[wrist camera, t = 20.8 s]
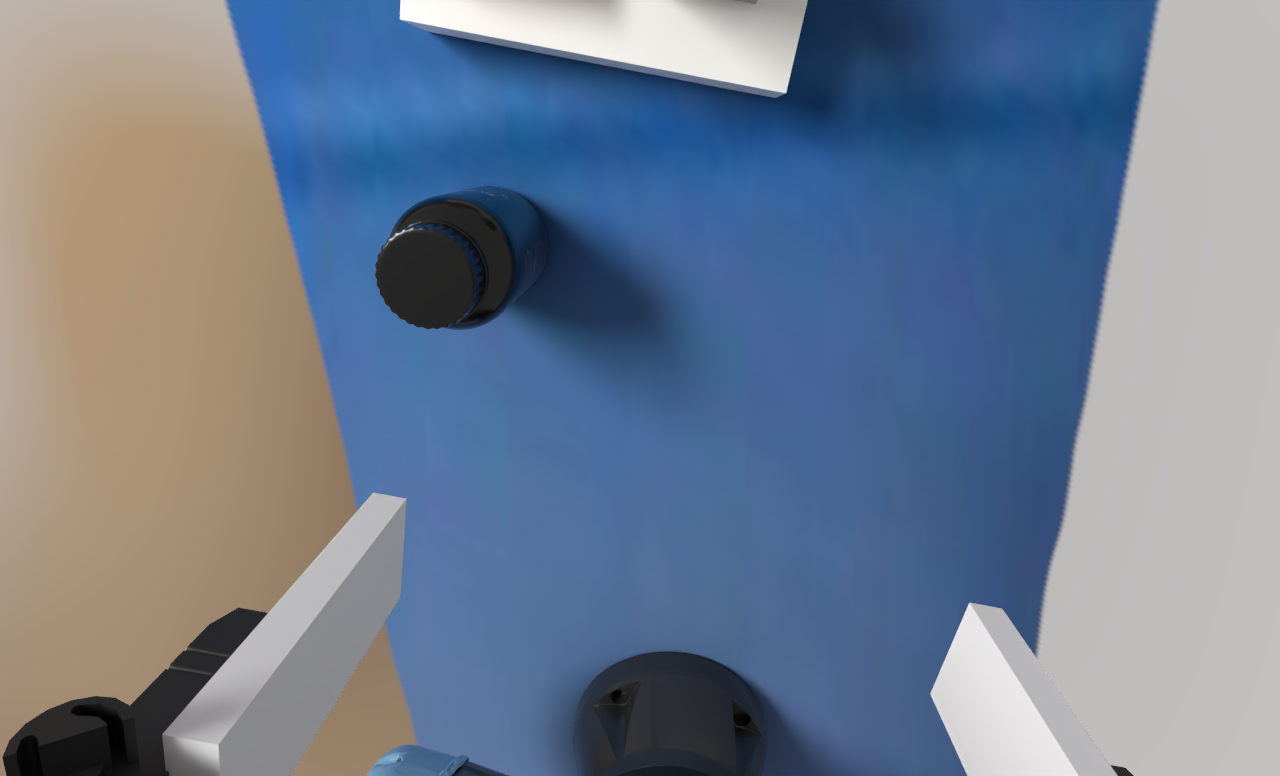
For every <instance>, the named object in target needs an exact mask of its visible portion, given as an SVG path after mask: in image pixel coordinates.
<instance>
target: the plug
mask: <svg viewBox="0 0 1280 776" xmlns="http://www.w3.org/2000/svg"><path fill="white" fill-rule="evenodd" d="M736 1H741V2H746V3H752V4H756V3H757V1H758V0H736Z"/></svg>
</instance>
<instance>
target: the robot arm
mask: <svg viewBox="0 0 1280 776" xmlns="http://www.w3.org/2000/svg"><path fill="white" fill-rule="evenodd" d="M405 515H406V499H405V498H400V497H394V496H389V495H384V494H378V493H373V494H372V495H371V496H370V497H369V498H368V499H367V500H366V502H365V503H364V504H363V505H362V506H361V507H360V508H359V510H358V511H357V512H356V513H355V514H354V515H353V517H352V518H351V519H350V520H349V521H348V522H347V523H346V525H345V526H344V527H343V528H342V529H341V530H340V531H339V533H338V534H337V535H336V536H335V537H334V538H333V539H332V541H331V542H330V543H329V544H328V545H327V546H326V548H325V549H324V550H323V551H322V552H321V553H320V554H319V555H318V557H317V558H316V559H315V560H314V561H313V562H312V563H311V565H310V566H309V567H308V568H307V569H306V570H305V572H304V573H303V574H302V575H301V576H300V577H299V578H298V579H297V581H296V582H295V583H294V584H293V585H292V586H291V588H290V589H289V590H288V591H287V592H286V593H285V594H284V596H283V597H282V598H281V599H280V600H279V601H278V602H277V604H276V605H275V606H274V607H273V608H272V609H271V610H270V612H269V613H264V612H259V611H254V610H248V609H242V608H237V609H236V610H234V611H232V612H230V613H229V614H227V615H225V616H223V617H222V618H220V619H218V620H216V621H215V622H213V623H211V624H209V626H207V627H206V628H205V629H204V630H203V632H201V633H200V635H199V636H198V637H197V638H196V639H195V640H194V641H193V642H192V643H191V644H190V645H189V646H188V648H187V650H186V651H183V652H182V653H181V654H180V655H179V656H178V657H177V658H176V659H175V660H174V661H173V662H172V663H171V665H170V668H169V669H168V670H167V669H165V670H164V672H163V673H161V675H160V676H159V677H158V678H157V679H156V680H155V681H154V682H153V683H152V684H151V685H150V686H149V687H148V688H147V689H146V690H145V691H144V692H143V693H142V694H141V695H140V696H139V697H138V698H137V699H136V700H135V701H134V702H133V703H132V704H131V705H130V706H129V705H128V704H125V703H124V702H121V701H120V700H118V699H116V698H110V697H98V696H94V697H88V698H83V699H77V700H72V701H69V702H66V703H64V704H61V705H59V706H56V707H54V708H51V709H49V710H47V711H45V712H44V713H42V714H40V715H39V716H37V717H36V718H34V719H32V720H31V721H29V722H28V723H26V724H25V725H24V726H23V727H22V728H21V729H20V730H19V731H18V733H16V734H15V735H14V736H13V738H11V740H10V741H9V743H8V746H7V748H6V750H5V753H4V755H3V761H4V766H5V771H6V775H7V776H291V774H292V773H293V771H294V769H295V768H296V766H297V765H298V763H299V761H300V760H301V758H302V756H303V755H304V753H305V752H306V750H307V748H308V747H309V745H310V743H311V742H312V740H313V739H314V737H315V735H316V733H317V732H318V730H319V729H320V727H321V725H322V724H323V722H324V721H325V719H326V717H327V716H328V714H329V712H330V711H331V709H332V707H333V706H334V704H335V703H336V701H337V699H338V698H339V696H340V694H341V693H342V691H343V690H344V688H345V686H346V685H347V683H348V681H349V680H350V678H351V677H352V675H353V673H354V671H355V670H356V668H357V667H358V665H359V664H360V662H361V660H362V659H363V657H364V655H365V654H366V652H367V650H368V649H369V647H370V646H371V644H372V642H373V641H374V639H375V637H376V636H377V634H378V633H379V631H380V629H381V628H382V626H383V624H384V623H385V621H386V620H387V618H388V616H389V615H390V613H391V611H392V610H393V608H394V606H395V605H396V603H397V602H398V600H399V598H400V595H401V579H402V563H403V547H404V531H405ZM931 696H932V699H933V701H934V703H935V705H936V707H937V710H938V712H939V714H940V716H941V718H942V721H943V723H944V725H945V727H946V729H947V732H948V734H949V736H950V738H951V740H952V743H953V745H954V747H955V749H956V751H957V754H958V756H959V758H960V760H961V762H962V765H963V767H964V769H965V771H966V773H967V776H1133V775H1132V774H1131V773H1130V772H1129V771H1128V770H1127V769H1126V768H1123V767H1117V766H1112V765H1110V764H1109V763H1108V761H1107V760H1106V758H1105V757H1104V755H1103V754H1102V752H1101V751H1100V749H1099V748H1098V747H1097V745H1096V744H1095V742H1094V741H1093V739H1092V738H1091V737H1090V735H1089V734H1088V732H1087V731H1086V729H1085V728H1084V726H1083V725H1082V723H1081V722H1080V721H1079V719H1078V718H1077V716H1076V715H1075V713H1074V712H1073V711H1072V709H1071V708H1070V706H1069V705H1068V703H1067V702H1066V700H1065V699H1064V697H1063V696H1062V695H1061V693H1060V692H1059V690H1058V689H1057V687H1056V686H1055V684H1054V683H1053V682H1052V680H1051V679H1050V677H1049V676H1048V674H1047V673H1046V671H1045V670H1044V668H1043V667H1042V666H1041V664H1040V663H1039V661H1038V660H1037V658H1036V657H1035V655H1034V654H1033V653H1032V651H1031V650H1030V648H1029V647H1028V645H1027V644H1026V642H1025V641H1024V640H1023V638H1022V637H1021V635H1020V634H1019V632H1018V631H1017V629H1016V628H1015V627H1014V625H1013V624H1012V622H1011V621H1010V619H1009V618H1008V616H1007V615H1006V614H1005V612H1004V611H1003V609H1001V608H996V607H990V606H985V605H979V604H974V603H969V605H968V607H967V610H966V612H965V614H964V617H963V619H962V621H961V624H960V626H959V628H958V631H957V633H956V635H955V638H954V640H953V642H952V645H951V647H950V649H949V652H948V654H947V656H946V659H945V661H944V663H943V666H942V668H941V670H940V673H939V675H938V677H937V680H936V682H935V684H934V687H933V689H932V691H931ZM573 743H574V753H575V759H576V764H577V769H578V774H579V776H761V775H762V771H763V767H764V762H765V757H766V737H765V730H764V723H763V716H762V712H761V709H760V706H759V704H758V701H757V699H756V698H755V696H754V694H753V693H752V691H751V690H750V689H749V687H748V686H747V685H746V684H745V683H744V682H743V681H742V680H741V679H740V678H739V677H738V676H736V675H735V674H734V673H732V672H731V671H729V670H728V669H726V668H725V667H723V666H721V665H719V664H717V663H715V662H713V661H710V660H708V659H705V658H702V657H698V656H695V655H690V654H684V653H675V652H657V653H648V654H642V655H638V656H634V657H631V658H628V659H625V660H623V661H620V662H618V663H616V664H614V665H612V666H611V667H609V668H607V669H606V670H605V671H603V672H602V673H601V674H600V675H598V676H597V677H596V678H595V679H594V680H593V681H592V682H591V684H590V685H589V686H588V688H587V689H586V690H585V692H584V694H583V696H582V698H581V700H580V703H579V707H578V711H577V717H576V722H575V728H574V738H573ZM366 776H508V775H506V774H503V773H500V772H497V771H494V770H492V769H489V768H486V767H483V766H480V765H478V764H475V763H472V762H469V758H468V757H467V756H464V755H462V756H459V757H454V756H450V755H447V754H444V753H440V752H437V751H433V750H430V749H427V748H423V747H420V746H416V745H404V746H399V747H396V748H394V749H392V750H390V751H389V752H387V753H386V754H385V755H383V756H382V757H381V758H380V759H379V760H378V761H377V762H376V764H375V765H374V766H373V767H372V768H371V770H370V771H369V772H368V774H367V775H366Z"/></svg>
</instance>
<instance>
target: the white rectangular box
mask: <svg viewBox="0 0 1280 776" xmlns="http://www.w3.org/2000/svg"><path fill="white" fill-rule="evenodd" d="M807 2H808V0H758V1H757V3H756V4H752V3H746V2H741V1H736V0H401V6H400V20H403V21H405V22H407V23H409V24H412V25H414V26H416V27H418V28H421V29H423V30H425V31H428V32H433V33H438V34H443V35H448V36H454V37H459V38H464V39H469V40H474V41H480V42H485V43H490V44H495V45H501V46H506V47H511V48H516V49H521V50H527V51H532V52H537V53H542V54H548V55H553V56H558V57H563V58H568V59H574V60H579V61H584V62H589V63H595V64H600V65H605V66H610V67H615V68H621V69H626V70H631V71H636V72H642V73H647V74H652V75H657V76H662V77H668V78H673V79H678V80H683V81H689V82H694V83H699V84H704V85H709V86H715V87H720V88H725V89H730V90H736V91H741V92H746V93H751V94H756V95H762V96H767V97H772V98H777V97H779V96H781V95H784V94H786V92H787V87H788V83H789V79H790V74H791V70H792V66H793V62H794V57H795V53H796V49H797V45H798V40H799V36H800V32H801V27H802V23H803V19H804V15H805V10H806V6H807Z"/></svg>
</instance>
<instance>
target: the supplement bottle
mask: <svg viewBox="0 0 1280 776" xmlns="http://www.w3.org/2000/svg"><path fill="white" fill-rule="evenodd" d="M547 257H548V236H547V232H546V228H545V226H544V223H543V221H542V219H541V217H540V215H539V214H538V212H537V211H536V210H535V208H534V207H533V206H532V205H531V204H530V203H529V202H528V201H527V200H526V199H524V198H523V197H522V196H520V195H518V194H517V193H515V192H513V191H510V190H507V189H504V188H500V187H491V186H486V187H478V188H472V189H468V190H463V191H459V192H454V193H449V194H445V195H440V196H436V197H432V198H429V199H426V200H424V201H421V202H419V203H417V204H415V205H414V206H412V207H411V208H410V209H408V210H407V211H406V212H405V213H404V214H403V215H402V216H401V217H400V218H399V220H398V221H397V223H396V224H395V226H394V228H393V230H392V232H391V235H390V238H388V240H387V243H386V244H385V245H383V246H382V249H381V253H379V255H378V261H377V263H376V270H377V271H376V274H375V276H376V278H377V286H378V288H379V289H380V295H381V296H382V297H383V298H384V301H385V304H386V305H388V306H389V307H390V309H391V311H392V312H393V313H395V314H397V315H398V317H399V318H400V319H403V320H405V321H406V322H407V323H408V324H414V325H415V326H417V327H424V328H426V329H430V328H435V329H439V328H441V327H442V328H447V329H454V330H464V329H472V328H476V327H479V326H482V325H484V324H486V323H488V322H490V321H492V320H493V319H495V318H496V317H498V316H499V315H500V314H501V313H502V312H504V311H505V310H506V309H507V308H508V307H509V306H510V305H511V304H512V303H514V302H515V301H516V300H517V299H518V298H519V297H520V296H521V295H522V294H523V293H525V292H526V291H527V290H528V289H529V288H530V287H531V286H532V285H533V284H534V283H535V282H536V280H537V279H538V278H539V276H540V275H541V273H542V271H543V269H544V267H545V264H546V261H547Z"/></svg>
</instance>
